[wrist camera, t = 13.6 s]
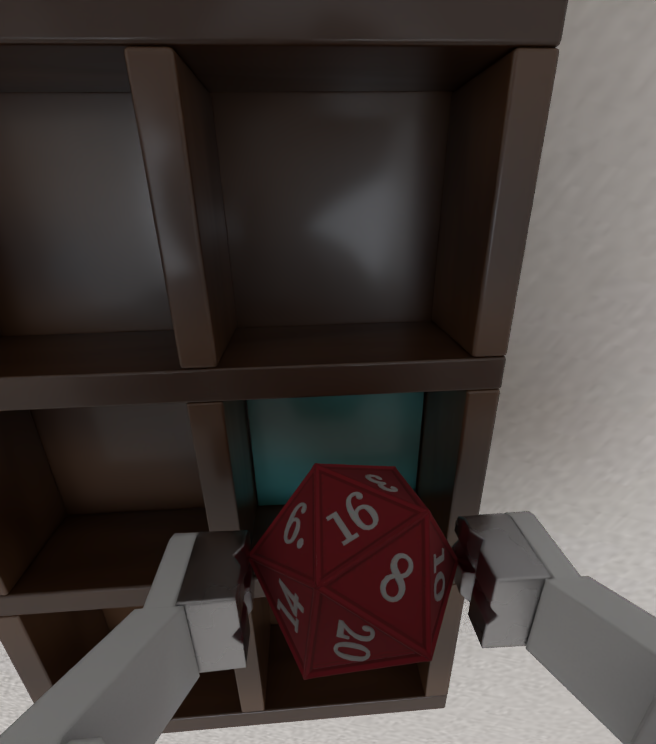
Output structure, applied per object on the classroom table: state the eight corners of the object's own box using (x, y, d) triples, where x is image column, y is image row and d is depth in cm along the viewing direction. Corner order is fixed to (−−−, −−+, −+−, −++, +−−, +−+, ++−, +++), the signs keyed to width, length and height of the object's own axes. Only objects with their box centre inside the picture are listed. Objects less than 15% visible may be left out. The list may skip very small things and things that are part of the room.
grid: (-117, 55, 9) (-361, -30, 5) (480, 57, 9) (573, -18, 6) (102, 638, 16) (54, 744, 13) (418, 614, 17) (445, 708, 14)
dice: (259, 424, 9) (231, 574, 5) (446, 434, 10) (538, 579, 6) (254, 546, 11) (230, 730, 7) (416, 549, 11) (475, 724, 7)
